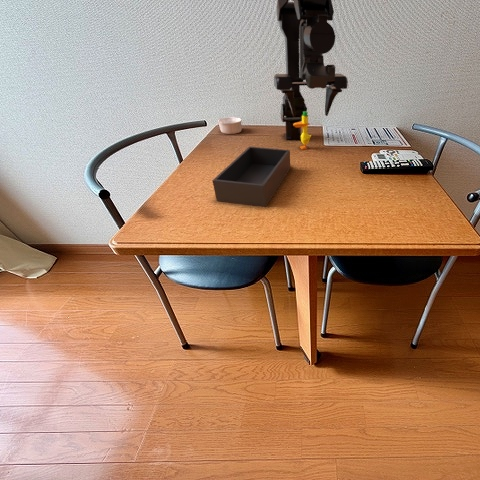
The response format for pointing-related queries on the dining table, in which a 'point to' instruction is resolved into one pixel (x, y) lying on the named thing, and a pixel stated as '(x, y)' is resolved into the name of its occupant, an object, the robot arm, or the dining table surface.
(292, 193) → the dining table surface
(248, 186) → the bin
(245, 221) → the dining table surface
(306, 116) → the toy figure
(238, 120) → the ramekin
